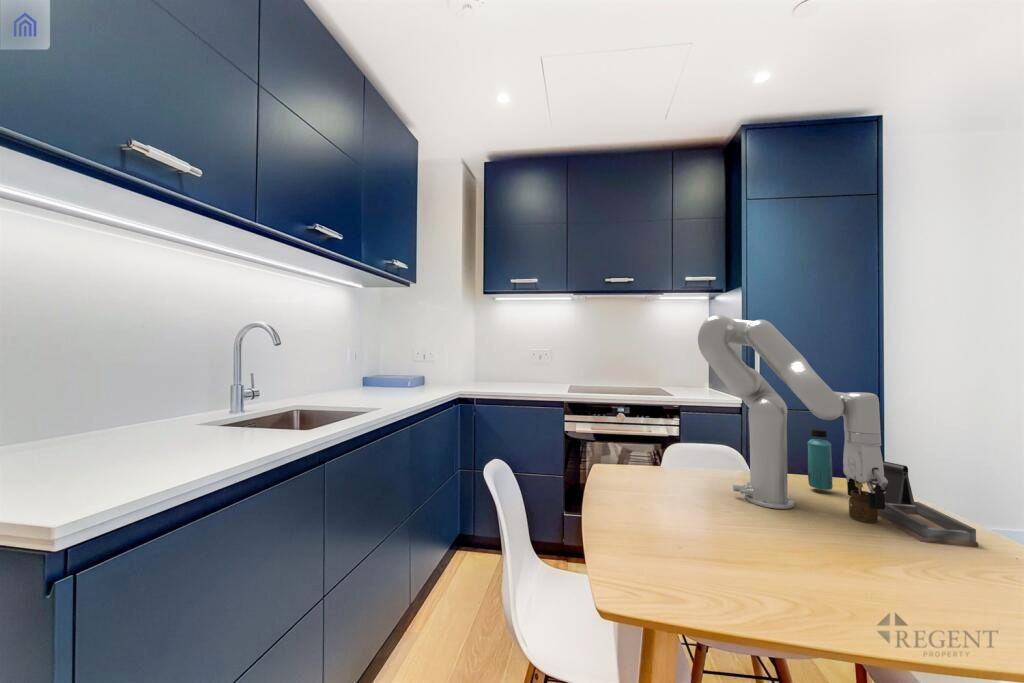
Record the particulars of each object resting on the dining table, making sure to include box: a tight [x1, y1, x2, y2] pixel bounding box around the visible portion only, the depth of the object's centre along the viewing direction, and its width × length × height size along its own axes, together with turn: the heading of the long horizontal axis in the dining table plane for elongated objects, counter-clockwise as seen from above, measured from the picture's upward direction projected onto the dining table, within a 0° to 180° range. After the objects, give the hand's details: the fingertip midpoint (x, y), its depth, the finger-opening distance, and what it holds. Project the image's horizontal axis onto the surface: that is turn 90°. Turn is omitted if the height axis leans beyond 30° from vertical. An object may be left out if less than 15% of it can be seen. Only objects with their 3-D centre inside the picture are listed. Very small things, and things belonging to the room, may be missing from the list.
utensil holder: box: [848, 476, 879, 524], centre depth 110 cm, size 6×6×12 cm
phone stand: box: [874, 460, 915, 505], centre depth 121 cm, size 9×6×12 cm, turn 111°
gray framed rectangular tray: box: [878, 501, 979, 548], centre depth 104 cm, size 11×18×4 cm, turn 166°
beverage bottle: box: [807, 428, 834, 491], centre depth 132 cm, size 6×7×20 cm
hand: (865, 502), depth 109 cm, fingers open, 9 cm apart
